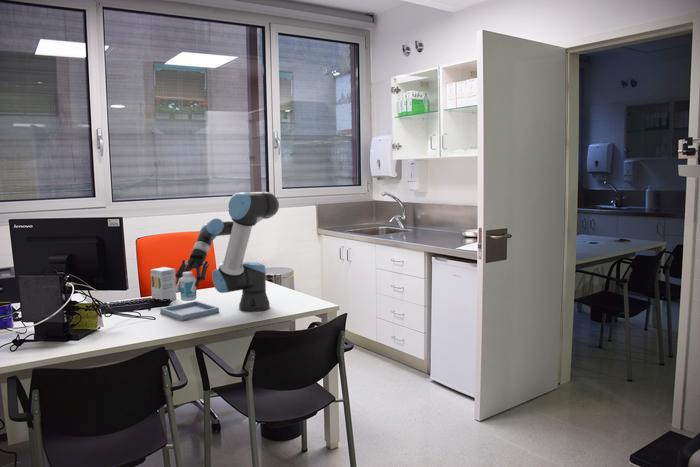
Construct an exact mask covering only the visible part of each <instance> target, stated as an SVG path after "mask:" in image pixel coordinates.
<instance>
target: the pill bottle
mask: <svg viewBox="0 0 700 467" xmlns="http://www.w3.org/2000/svg"><path fill="white" fill-rule="evenodd" d="M195 279H197V278H196V277H195V276H194V275H193V271H189V272H183V277H181V278H180V290H179V293H180V300H181V301H183V302H193V301H196V299H197V288H196V289H195V292H194V293H192V291H191V287H192V285H193V282H194V280H195Z"/></svg>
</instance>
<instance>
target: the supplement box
mask: <svg viewBox="0 0 700 467" xmlns="http://www.w3.org/2000/svg"><path fill="white" fill-rule="evenodd" d="M175 275H176V268H173V267H172V268H171V267H167V266H161V267H158V268H157V267H156V268H152V269H150V286H151V289H150V290H151V292H150V293H151V299H152V298H155V299H161V300H163V299H171V300H170V301H173V300H177V291H176V290H175V288H176V286H177V284H176V282H177V281H176V279H177V278H176V276H175Z"/></svg>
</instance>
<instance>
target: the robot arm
mask: <svg viewBox="0 0 700 467" xmlns="http://www.w3.org/2000/svg"><path fill="white" fill-rule="evenodd" d="M279 208H280V203H279V200H278V198H277V197H276V195H274V194H273V193H271V192H268V191H253V192H252V191H250V192H249V191H248V192H246V191H242V192H237V193H234V194H232V196H231V197H230V199H229V201H228V214H229V216H230V218H231V219H229V220H222V219H221V218H217V217H215V218H212V219H210V220H209V221H208V222H207V223H206V224H204V225H203V226H201V228H200V230H199V234H198V236H197V238H196V241H195V243H194V245H193V248H192V251H191V253H190V255H189V259H187V260H185V259H183V260H181V264H180V267H179V268H178V270H177V271H176V272H175V277H176V279H177V281H176V288H175V290H176V293H180V278H181V277H183V272H191V271H192V270H193V269H196V270H195V272H196V277H195V278H196V279H195V280H194V282H193V285H192V287H191V291H192V293H194V292H195V289H196V290H197V287H199V284H200V282H201V281H205V280H206V275H207V271H208V267H209V265H210V262H208V261H207V260H206V259H207V256H208V253H209V251H210V248H211V245H212V243H213V241H214V240H215V239H216V238H217V237H219V236H229V239H228V244H227V247H226V252H225V255H224V256H225V257H224V259H223V261H222V262H220V263H219V267H218V268H216V269H214V270H212V275H211V276H212V282H213V287H214V288H215V290H216V291H217V292H218V293H220V294H223V293H230V292H231V293H232V292H237V291H242V294H241V298H240V302H239V303H238V307H239V308H238V309H239V310H240V311H242V312H252V313H253V312H263V311H267V310H268V309H270V308H271V307H270V306H271V305H270V300H269V297H268V294H267V290H266V289H267V286H266V285H267V283H266V273H267V272H266V266H265V265H264V264H263V263H261V262H260V263H259V262H252V261H244V259H245V254H246V251H247V247H248V244H249V239H250V236H251V232H252V229H253V227H254V226H256V225H257V223H259V222H261V221H262V220H264V219H265V220H266V219H270V218H273V217H274V216H275V215H276V214H277V213H278V211H279ZM201 267H202V268H201Z"/></svg>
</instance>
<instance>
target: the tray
mask: <svg viewBox="0 0 700 467" xmlns="http://www.w3.org/2000/svg"><path fill="white" fill-rule="evenodd" d="M159 310H160V314H161V315H163V316H166V317H170V318H172V319H175V320H177V321H180V322H184V321H188V320H189V321H190V320H194V319H197V318H202V317H206V316H210V315H214V314H215V315H216V314H218V313H220V307H218V306H215V305H211V304H207V303H205V302H203V301H198V300H192V301H187V302H185V303H180V304H175V305H170V306H164V307H161V308H159Z"/></svg>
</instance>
